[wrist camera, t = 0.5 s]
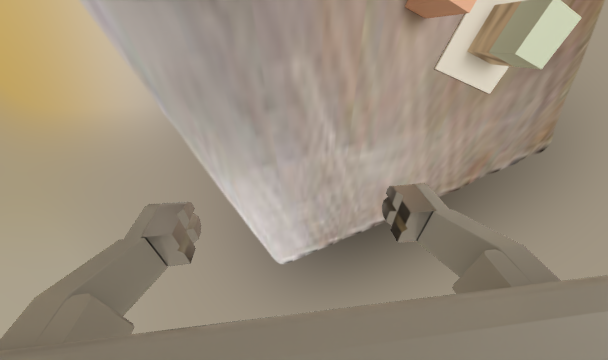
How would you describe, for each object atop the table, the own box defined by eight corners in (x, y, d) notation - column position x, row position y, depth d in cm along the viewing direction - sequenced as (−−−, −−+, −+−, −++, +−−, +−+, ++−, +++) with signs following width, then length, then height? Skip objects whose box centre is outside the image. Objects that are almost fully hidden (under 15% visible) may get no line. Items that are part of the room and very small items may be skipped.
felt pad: (433, 68, 46) (435, 68, 45) (495, -42, 37) (497, -43, 37) (488, 93, 52) (489, 93, 51) (551, 3, 43) (554, 2, 43)
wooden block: (466, 51, 45) (488, 52, 41) (494, 4, 41) (521, 1, 37) (491, 64, 47) (513, 66, 43) (519, 21, 43) (547, 20, 39)
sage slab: (488, 52, 41) (515, 53, 36) (521, 1, 37) (555, -4, 33) (513, 66, 43) (541, 69, 39) (547, 20, 39) (581, 17, 35)
